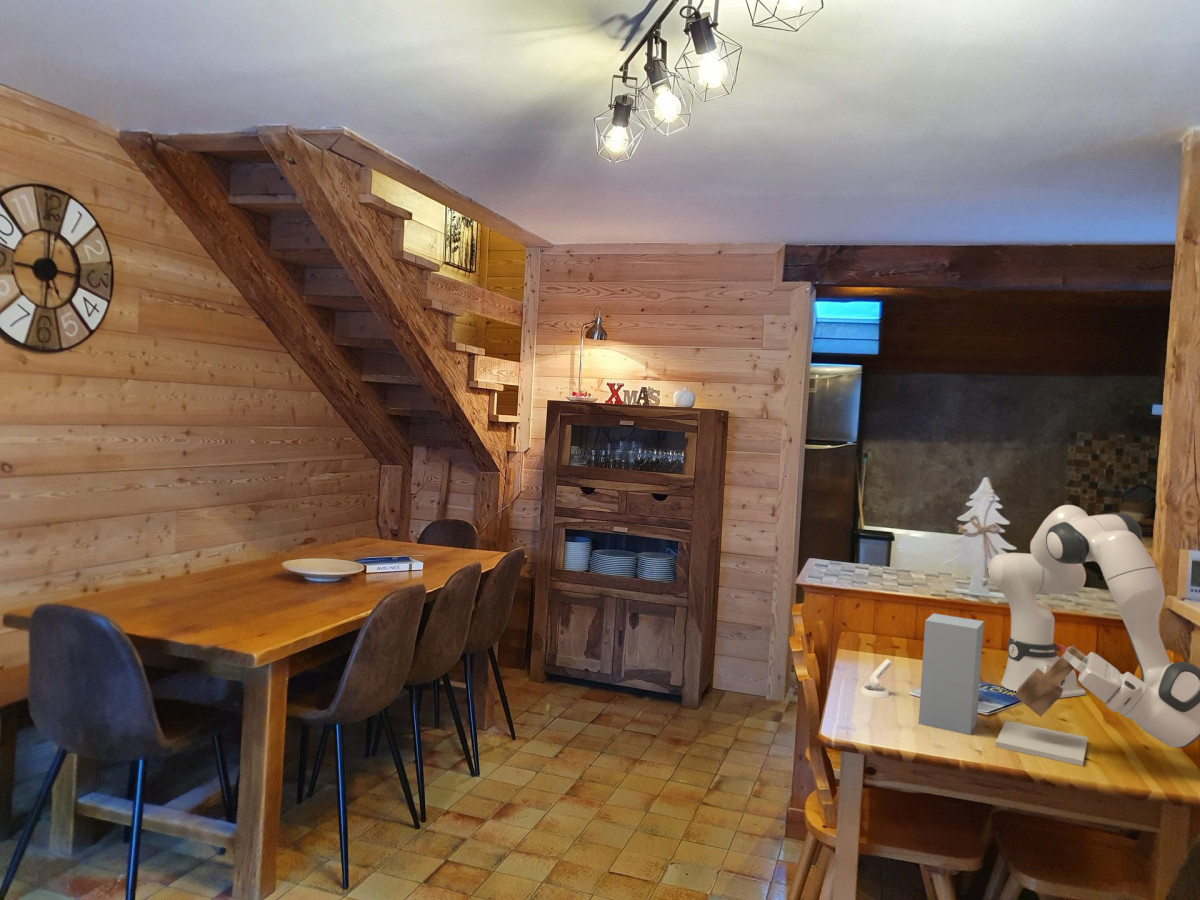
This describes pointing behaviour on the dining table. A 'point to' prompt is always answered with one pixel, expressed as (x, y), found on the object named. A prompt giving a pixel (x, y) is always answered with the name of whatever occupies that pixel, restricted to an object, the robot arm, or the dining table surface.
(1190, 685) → the robot arm
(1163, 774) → the dining table surface
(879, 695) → the hook
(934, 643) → the post
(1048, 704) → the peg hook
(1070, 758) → the felt pad
